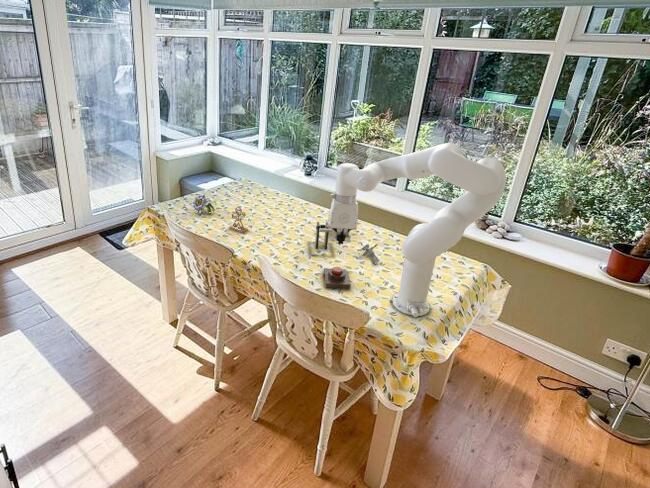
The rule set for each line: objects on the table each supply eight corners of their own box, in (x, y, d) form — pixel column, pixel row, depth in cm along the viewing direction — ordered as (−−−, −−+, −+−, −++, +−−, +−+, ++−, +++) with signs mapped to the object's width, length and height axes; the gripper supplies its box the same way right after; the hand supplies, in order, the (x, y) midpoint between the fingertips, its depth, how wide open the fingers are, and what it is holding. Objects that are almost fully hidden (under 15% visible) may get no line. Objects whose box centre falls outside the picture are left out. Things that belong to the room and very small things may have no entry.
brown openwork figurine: (229, 228, 204) (228, 206, 199) (233, 225, 207) (233, 203, 202) (243, 233, 199) (243, 210, 194) (248, 230, 202) (248, 208, 197)
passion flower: (198, 222, 222) (185, 204, 221) (210, 212, 230) (199, 194, 228) (209, 216, 214) (196, 197, 213) (222, 206, 221) (209, 188, 220)
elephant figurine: (365, 267, 172) (353, 251, 178) (369, 271, 176) (357, 256, 182) (385, 252, 171) (372, 237, 176) (388, 257, 175) (375, 242, 181)
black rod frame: (333, 256, 179) (336, 230, 174) (310, 255, 180) (312, 229, 175) (330, 243, 190) (332, 218, 185) (308, 242, 191) (310, 217, 186)
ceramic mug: (325, 236, 197) (326, 221, 194) (337, 231, 202) (338, 217, 199) (342, 245, 190) (343, 230, 186) (353, 240, 194) (355, 225, 191)
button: (342, 275, 159) (342, 271, 158) (332, 275, 159) (333, 271, 158) (341, 270, 162) (341, 266, 161) (331, 270, 162) (332, 266, 162)
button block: (349, 289, 156) (350, 280, 155) (325, 288, 157) (326, 279, 156) (345, 273, 167) (346, 265, 165) (323, 272, 167) (324, 264, 166)
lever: (331, 233, 170) (331, 228, 170) (319, 233, 170) (319, 227, 170) (327, 230, 182) (328, 224, 182) (316, 229, 182) (316, 224, 182)
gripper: (325, 200, 145) (321, 246, 152) (368, 202, 144) (362, 248, 151) (323, 193, 152) (319, 237, 159) (364, 194, 151) (358, 238, 158)
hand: (340, 242), depth 155 cm, fingers closed
